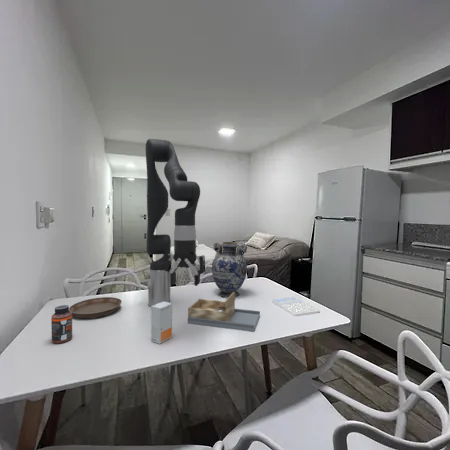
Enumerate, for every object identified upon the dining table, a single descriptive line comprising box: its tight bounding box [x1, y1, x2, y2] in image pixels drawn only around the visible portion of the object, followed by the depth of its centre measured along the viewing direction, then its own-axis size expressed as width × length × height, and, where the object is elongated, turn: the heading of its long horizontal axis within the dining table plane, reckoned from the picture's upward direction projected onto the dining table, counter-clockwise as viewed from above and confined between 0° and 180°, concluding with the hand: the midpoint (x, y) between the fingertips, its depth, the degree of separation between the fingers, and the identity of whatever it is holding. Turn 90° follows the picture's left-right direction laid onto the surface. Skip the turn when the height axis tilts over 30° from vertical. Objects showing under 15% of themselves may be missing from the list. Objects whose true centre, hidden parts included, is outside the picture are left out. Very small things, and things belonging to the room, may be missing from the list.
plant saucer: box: [69, 296, 122, 319], centre depth 114 cm, size 21×21×3 cm
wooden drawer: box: [187, 292, 236, 321], centre depth 106 cm, size 16×12×9 cm
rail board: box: [187, 308, 261, 332], centre depth 105 cm, size 26×15×2 cm, turn 74°
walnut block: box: [219, 303, 226, 312], centre depth 108 cm, size 4×4×3 cm
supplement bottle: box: [50, 304, 73, 344], centre depth 87 cm, size 6×6×11 cm
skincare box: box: [150, 301, 173, 345], centre depth 88 cm, size 6×4×12 cm
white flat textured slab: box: [271, 296, 321, 317], centre depth 120 cm, size 13×20×2 cm, turn 19°
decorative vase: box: [211, 241, 248, 298], centre depth 138 cm, size 21×19×28 cm
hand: (185, 284), depth 91 cm, fingers open, 8 cm apart
